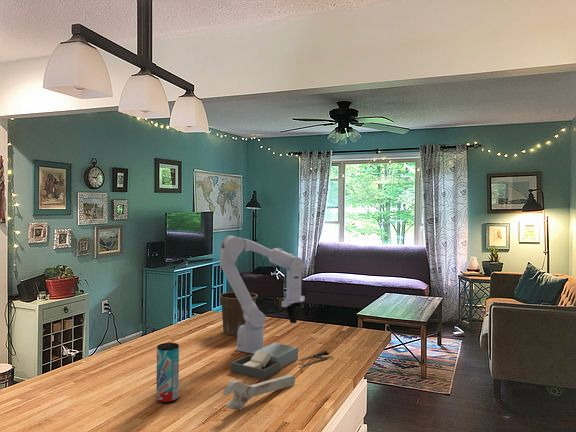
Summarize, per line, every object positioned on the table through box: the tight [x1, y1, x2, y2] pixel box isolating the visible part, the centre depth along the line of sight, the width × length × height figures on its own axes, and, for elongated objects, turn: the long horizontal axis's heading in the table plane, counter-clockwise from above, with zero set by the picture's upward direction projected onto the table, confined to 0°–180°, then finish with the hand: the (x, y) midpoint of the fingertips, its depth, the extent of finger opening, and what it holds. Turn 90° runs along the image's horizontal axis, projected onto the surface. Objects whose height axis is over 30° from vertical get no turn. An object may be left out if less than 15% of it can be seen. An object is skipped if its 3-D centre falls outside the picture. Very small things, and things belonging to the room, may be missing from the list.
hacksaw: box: [297, 350, 335, 374], centre depth 162 cm, size 24×10×2 cm, turn 131°
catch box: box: [230, 354, 281, 381], centre depth 152 cm, size 13×10×3 cm
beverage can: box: [155, 342, 180, 404], centre depth 129 cm, size 6×6×15 cm
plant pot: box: [218, 291, 259, 337], centre depth 200 cm, size 16×16×16 cm
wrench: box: [222, 374, 296, 411], centre depth 131 cm, size 8×2×30 cm
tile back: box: [251, 350, 271, 367], centre depth 154 cm, size 4×4×2 cm
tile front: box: [243, 361, 262, 369], centre depth 151 cm, size 4×4×2 cm
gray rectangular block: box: [251, 342, 299, 369], centre depth 163 cm, size 10×14×4 cm
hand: (293, 322), depth 180 cm, fingers closed
